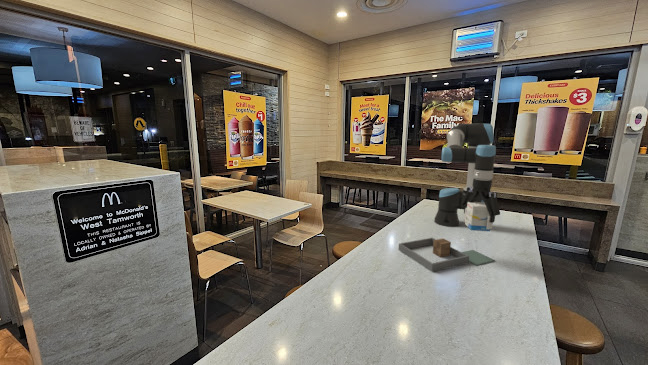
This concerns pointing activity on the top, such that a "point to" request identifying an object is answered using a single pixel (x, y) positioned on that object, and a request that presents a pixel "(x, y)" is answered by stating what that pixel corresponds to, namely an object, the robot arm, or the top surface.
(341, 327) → the top surface
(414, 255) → the bin
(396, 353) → the top surface
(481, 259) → the pad
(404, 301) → the top surface
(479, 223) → the ink box
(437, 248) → the walnut block
